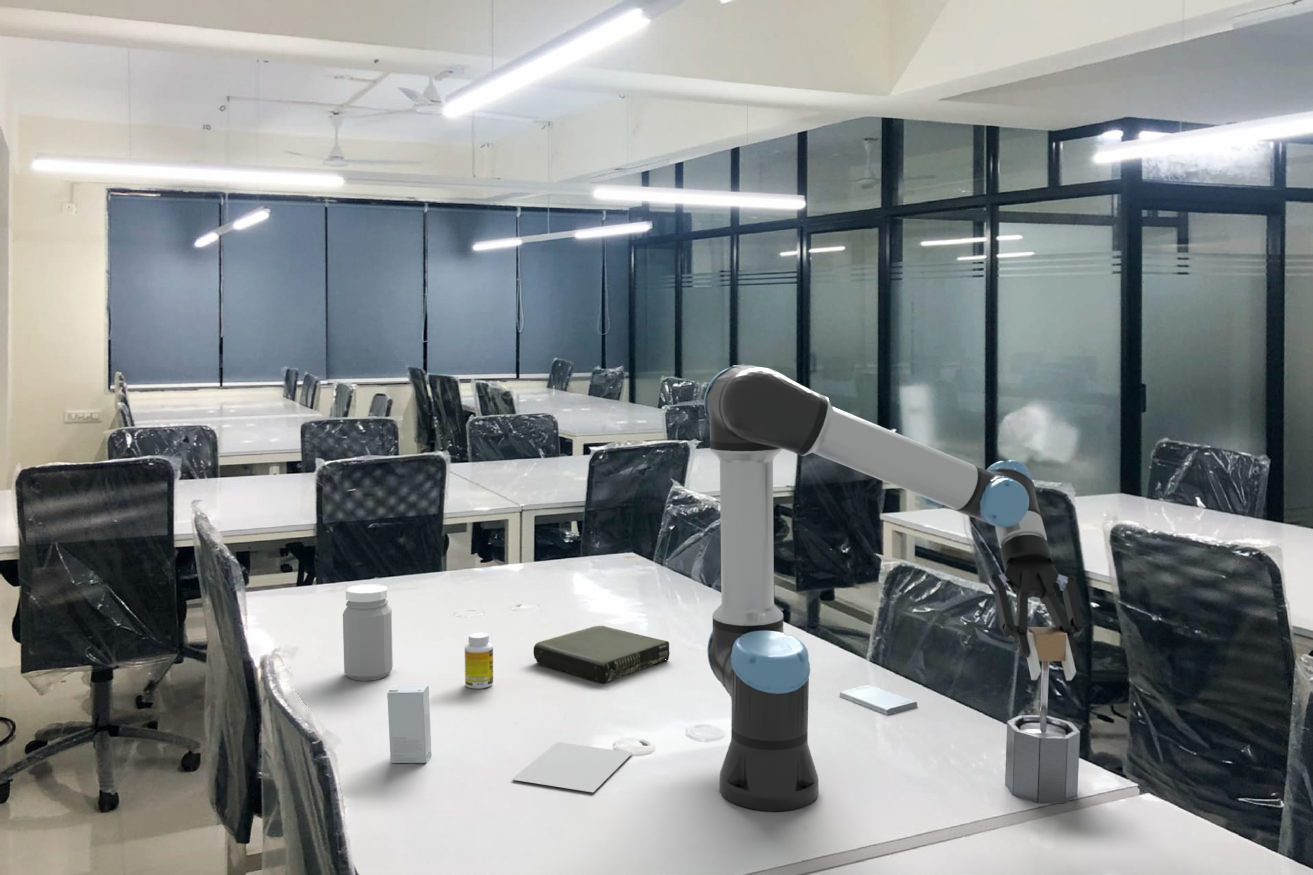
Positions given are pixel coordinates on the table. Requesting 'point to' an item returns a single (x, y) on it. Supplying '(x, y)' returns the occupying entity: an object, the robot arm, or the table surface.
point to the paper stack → (573, 766)
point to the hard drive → (878, 699)
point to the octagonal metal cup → (1042, 761)
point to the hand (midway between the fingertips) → (1053, 675)
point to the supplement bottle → (478, 661)
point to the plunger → (1046, 674)
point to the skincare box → (409, 723)
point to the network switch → (600, 653)
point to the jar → (367, 632)
